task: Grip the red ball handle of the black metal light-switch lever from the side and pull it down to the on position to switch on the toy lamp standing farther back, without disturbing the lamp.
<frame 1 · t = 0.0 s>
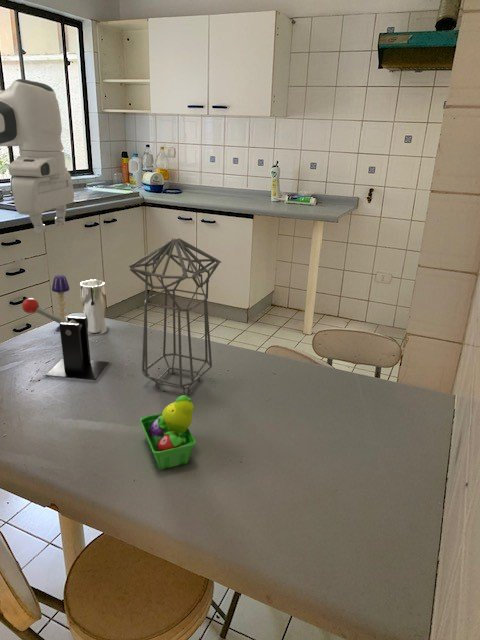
hand: (50, 228, 105), 34 cm above the table, tool pointing down, fingers open, 8 cm apart
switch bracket: (78, 372, 113), on the table
switch lever: (51, 316, 108), point 14 cm above the table, hinge at 25.0°
toy lamp: (65, 331, 135), on the table
silver metal vase: (96, 332, 135), on the table
fruit basket: (170, 452, 87), on the table
geometric lantern: (177, 386, 109), on the table
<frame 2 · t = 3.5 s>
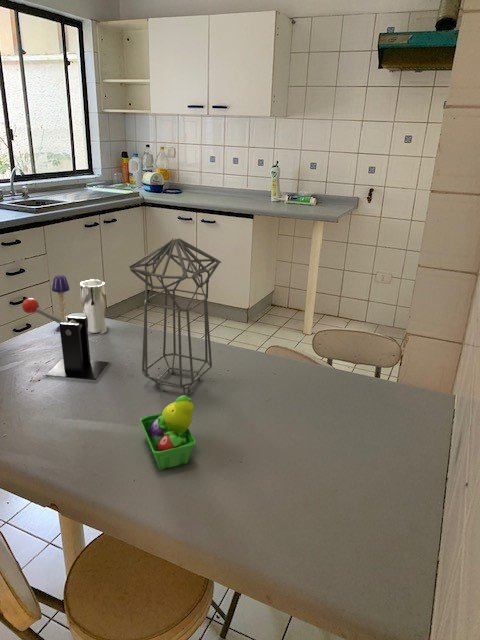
nothing on the table moved.
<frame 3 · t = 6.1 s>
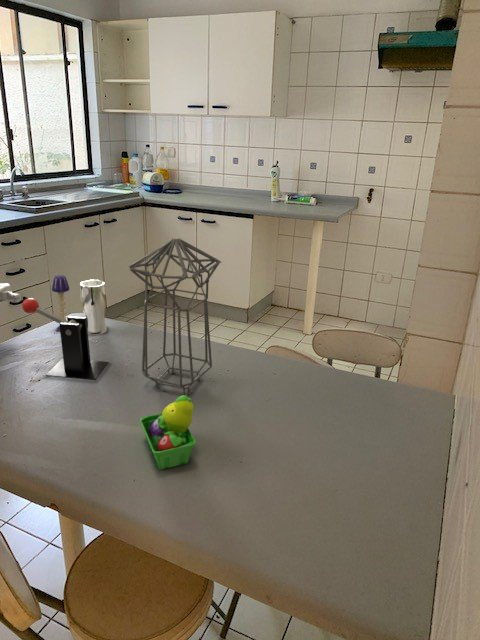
hand: (8, 305, 107), 17 cm above the table, tool horizontal, fingers open, 8 cm apart
nothing on the table moved.
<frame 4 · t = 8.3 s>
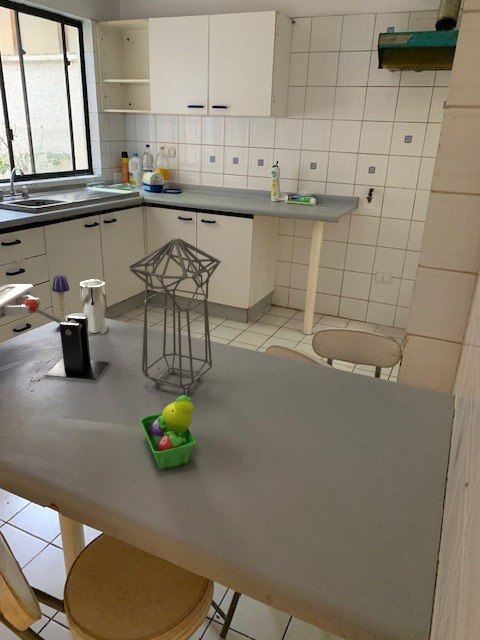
hand: (34, 306, 107), 17 cm above the table, tool horizontal, fingers closed on switch lever, 3 cm apart
switch lever: (51, 316, 108), point 14 cm above the table, hinge at 25.0°, touching gripper
everything else where it was.
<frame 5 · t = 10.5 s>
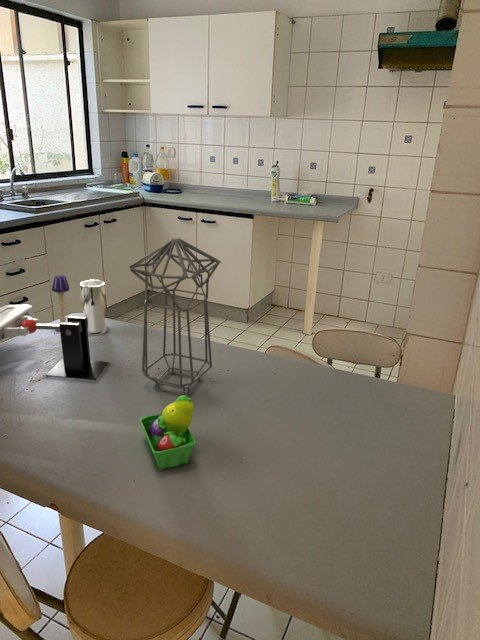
hand: (33, 327, 109), 11 cm above the table, tool horizontal, fingers closed on switch lever, 3 cm apart
switch lever: (50, 326, 109), point 12 cm above the table, hinge at -2.9°, touching gripper
everything else where it was.
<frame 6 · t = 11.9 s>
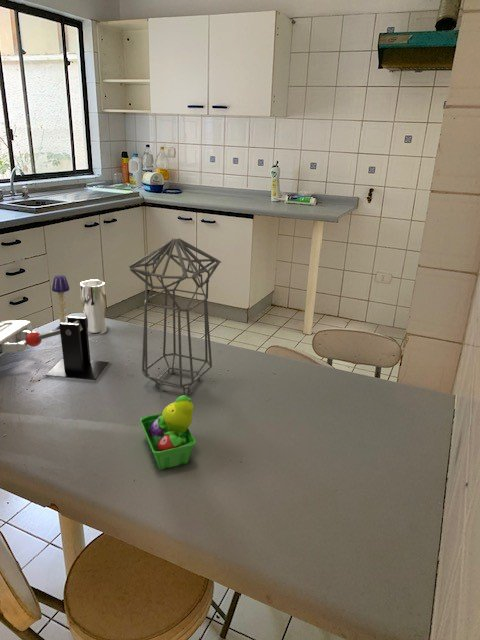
hand: (32, 342, 110), 8 cm above the table, tool horizontal, fingers open, 5 cm apart
switch lever: (52, 333, 109), point 10 cm above the table, hinge at -20.3°, touching gripper
everything else where it was.
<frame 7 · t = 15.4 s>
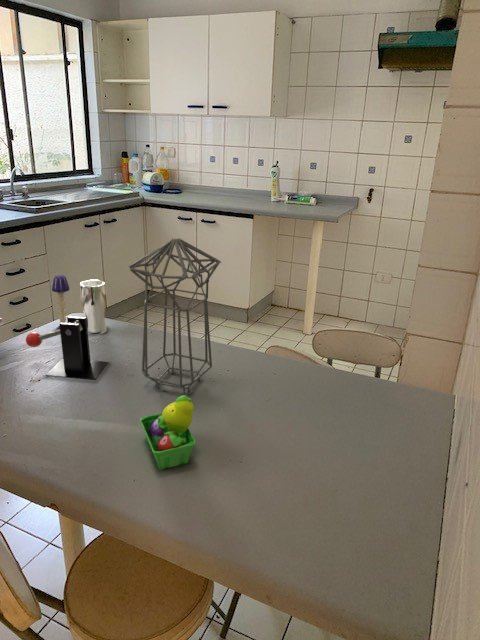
switch lever: (53, 333, 109), point 10 cm above the table, hinge at -21.3°
everything else where it was.
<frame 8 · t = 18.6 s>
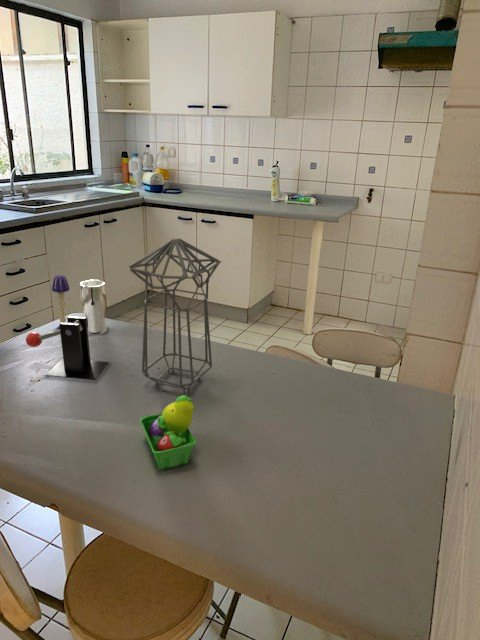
nothing on the table moved.
at the end: switch lever at -21° (first picture: +25°); toy lamp tilted 0°; toy lamp moved 0.2 cm from its start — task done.
